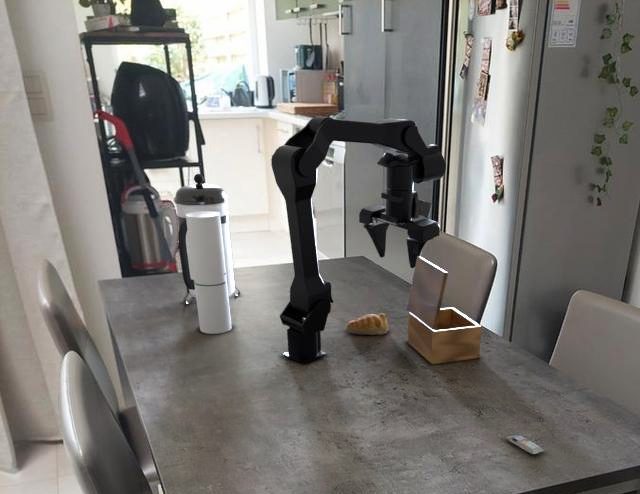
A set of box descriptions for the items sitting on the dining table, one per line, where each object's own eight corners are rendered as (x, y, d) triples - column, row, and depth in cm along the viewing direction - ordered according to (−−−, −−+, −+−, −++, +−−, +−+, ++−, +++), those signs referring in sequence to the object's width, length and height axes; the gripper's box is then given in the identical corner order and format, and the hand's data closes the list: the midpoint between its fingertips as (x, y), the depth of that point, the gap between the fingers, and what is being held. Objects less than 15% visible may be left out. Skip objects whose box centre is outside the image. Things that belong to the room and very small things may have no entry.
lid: (420, 256, 143) (417, 256, 143) (448, 272, 132) (444, 272, 132) (410, 310, 149) (406, 309, 148) (435, 329, 138) (432, 329, 137)
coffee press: (173, 295, 182) (155, 172, 167) (232, 288, 188) (220, 168, 173) (188, 314, 169) (170, 181, 153) (251, 306, 175) (240, 177, 159)
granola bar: (544, 453, 109) (545, 447, 108) (533, 457, 108) (534, 451, 107) (515, 436, 114) (516, 431, 113) (505, 440, 113) (505, 434, 112)
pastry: (349, 337, 155) (349, 320, 153) (343, 328, 161) (343, 311, 159) (390, 334, 157) (390, 317, 155) (382, 325, 162) (383, 309, 160)
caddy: (451, 337, 155) (453, 307, 152) (479, 358, 144) (481, 326, 141) (407, 342, 152) (408, 311, 149) (432, 364, 141) (433, 331, 138)
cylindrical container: (235, 324, 163) (223, 211, 150) (226, 334, 157) (214, 217, 144) (205, 323, 163) (191, 210, 150) (196, 333, 157) (181, 217, 144)
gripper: (459, 188, 142) (453, 264, 151) (393, 172, 152) (392, 243, 162) (423, 199, 136) (419, 277, 145) (357, 181, 146) (357, 255, 156)
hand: (397, 262), depth 152 cm, fingers open, 9 cm apart
